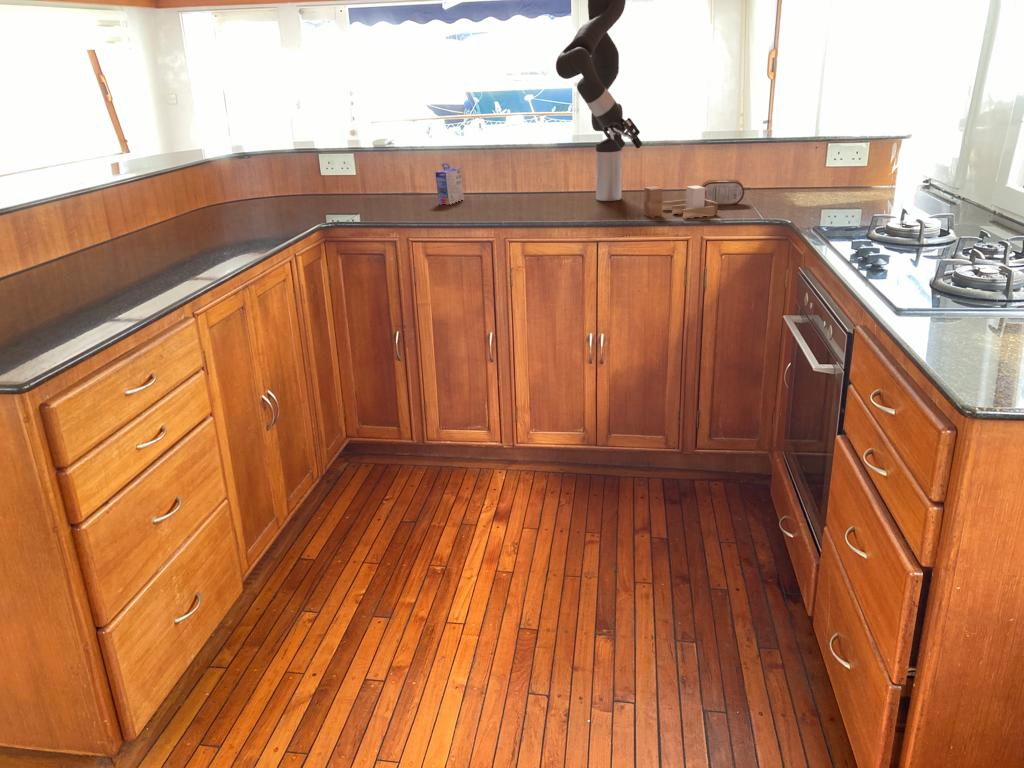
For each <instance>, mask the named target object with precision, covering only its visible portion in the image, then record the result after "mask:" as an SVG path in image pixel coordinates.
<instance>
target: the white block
mask: <svg viewBox="0 0 1024 768" xmlns="http://www.w3.org/2000/svg"><path fill="white" fill-rule="evenodd" d="M701 186H702V185H701ZM701 186H700V185H690V186H689V185H688V186H686V189H685V200H686V209H691V208H700V207H704V201H705V187H701Z"/></svg>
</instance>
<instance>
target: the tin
mask: <svg viewBox="0 0 1024 768" xmlns="http://www.w3.org/2000/svg"><path fill="white" fill-rule="evenodd" d="M701 187H705V199H707V200H710V201H713V202H717V203H718V206H735V205H737V204H739V203H740V202H741V201H742V200H743V198H744V196H745V188H744V185H743V184H742V183H741V181H739V180H737V179H709V180H707V181H705V182H703V183H702V184H701Z"/></svg>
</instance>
